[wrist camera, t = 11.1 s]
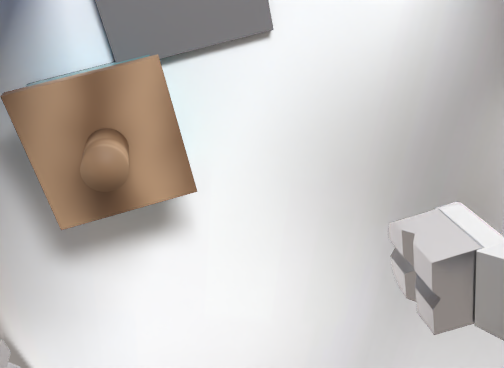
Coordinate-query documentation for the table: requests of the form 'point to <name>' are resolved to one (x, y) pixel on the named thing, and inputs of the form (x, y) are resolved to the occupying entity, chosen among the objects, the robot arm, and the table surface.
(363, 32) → the table surface
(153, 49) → the mat
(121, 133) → the lid
